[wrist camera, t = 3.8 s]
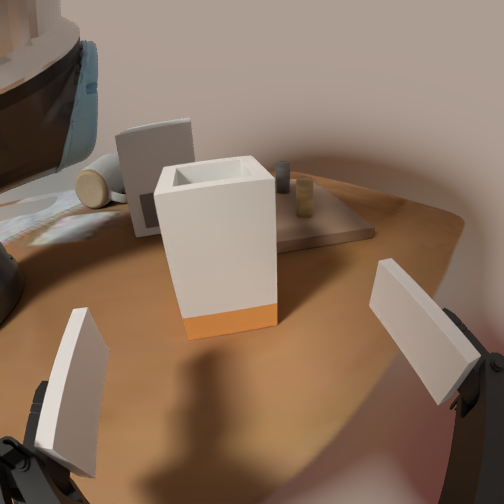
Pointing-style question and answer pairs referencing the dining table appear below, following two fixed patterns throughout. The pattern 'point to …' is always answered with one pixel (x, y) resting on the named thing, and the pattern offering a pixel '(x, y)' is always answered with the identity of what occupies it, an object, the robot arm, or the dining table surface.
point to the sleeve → (220, 243)
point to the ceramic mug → (101, 182)
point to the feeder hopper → (151, 165)
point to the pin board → (312, 214)
